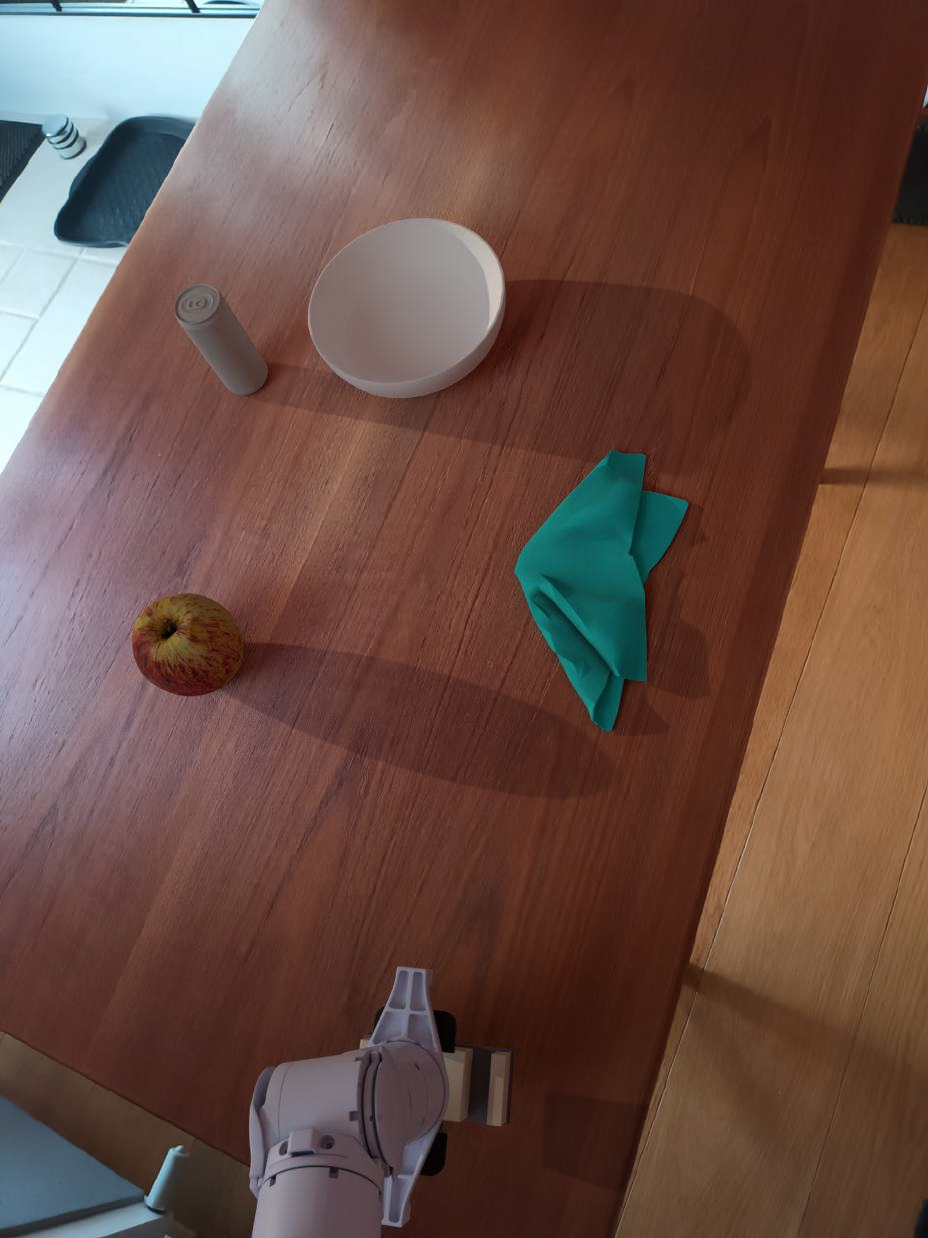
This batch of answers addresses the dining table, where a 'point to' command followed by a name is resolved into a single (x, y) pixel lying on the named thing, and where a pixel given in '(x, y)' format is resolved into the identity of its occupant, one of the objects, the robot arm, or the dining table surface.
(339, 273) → the bowl
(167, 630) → the apple
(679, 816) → the dining table surface
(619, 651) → the cloth
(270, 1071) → the robot arm
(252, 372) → the beverage can
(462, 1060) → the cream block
